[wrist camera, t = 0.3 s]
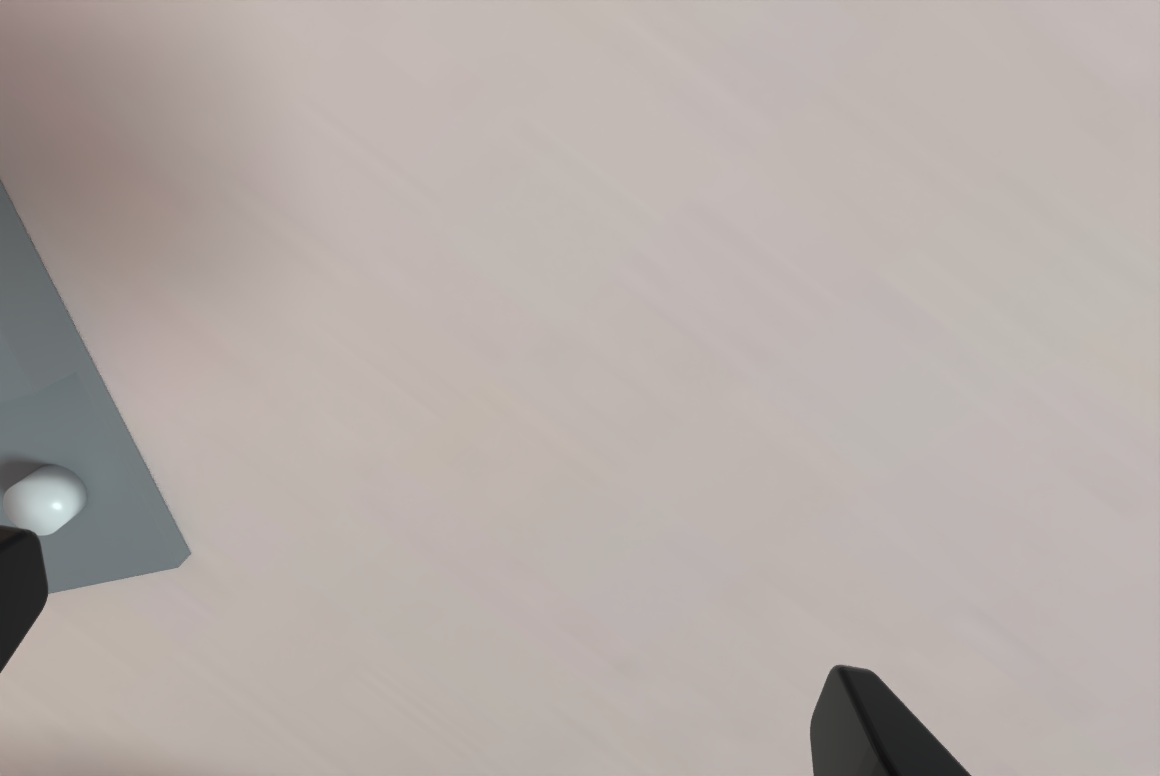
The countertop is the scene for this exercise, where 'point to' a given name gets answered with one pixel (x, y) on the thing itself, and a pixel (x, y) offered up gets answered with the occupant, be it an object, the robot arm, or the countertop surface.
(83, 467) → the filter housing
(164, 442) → the countertop surface
